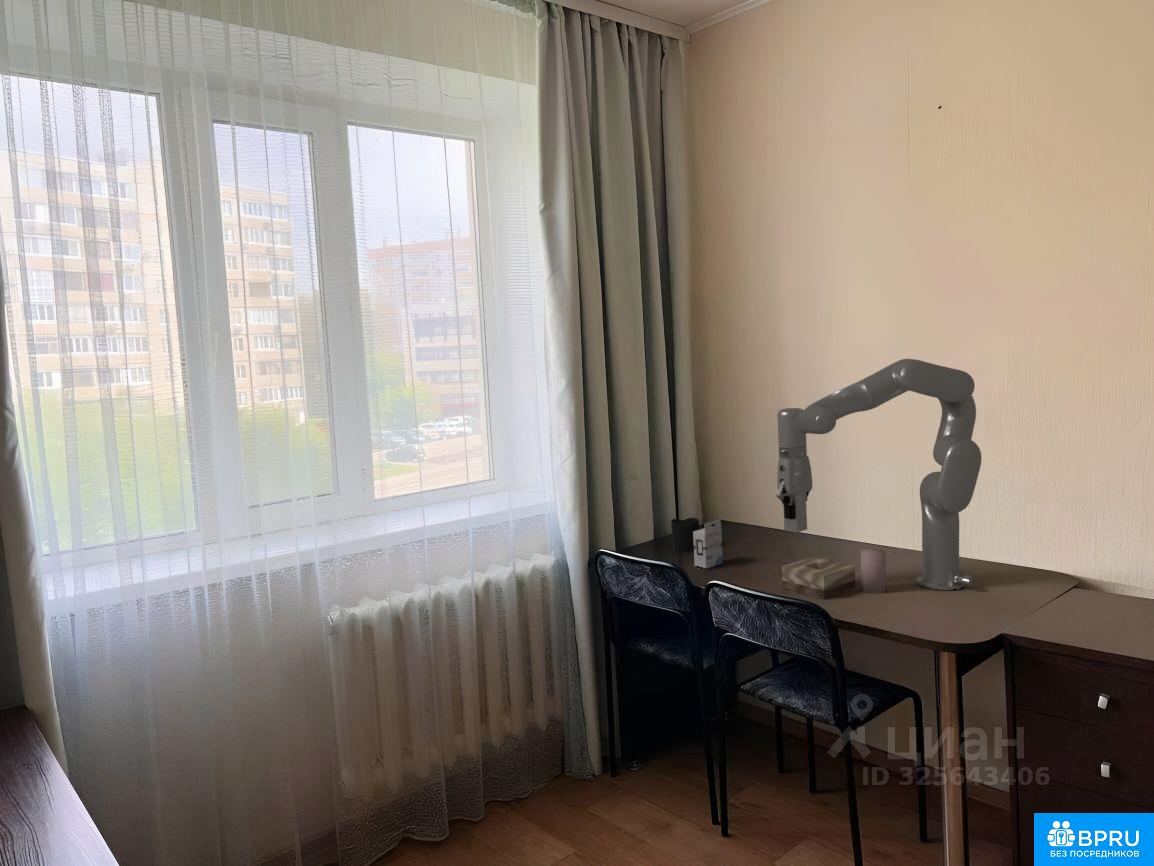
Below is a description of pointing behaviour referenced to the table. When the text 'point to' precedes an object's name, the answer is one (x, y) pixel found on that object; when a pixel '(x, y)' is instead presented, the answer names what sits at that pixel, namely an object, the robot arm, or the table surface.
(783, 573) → the bore block
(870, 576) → the round peg
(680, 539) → the pen holder
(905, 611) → the table surface
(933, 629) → the table surface
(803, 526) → the square peg
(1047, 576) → the table surface
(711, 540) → the ink box
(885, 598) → the table surface
